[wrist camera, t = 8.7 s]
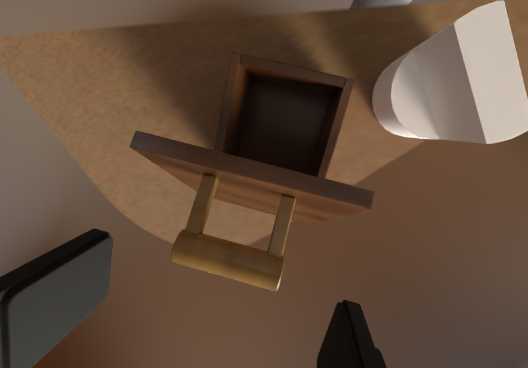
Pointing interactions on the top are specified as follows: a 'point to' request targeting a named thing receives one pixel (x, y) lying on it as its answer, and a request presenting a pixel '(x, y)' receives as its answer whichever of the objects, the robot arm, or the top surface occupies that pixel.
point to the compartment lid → (247, 195)
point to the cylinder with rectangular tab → (457, 83)
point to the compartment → (282, 114)
